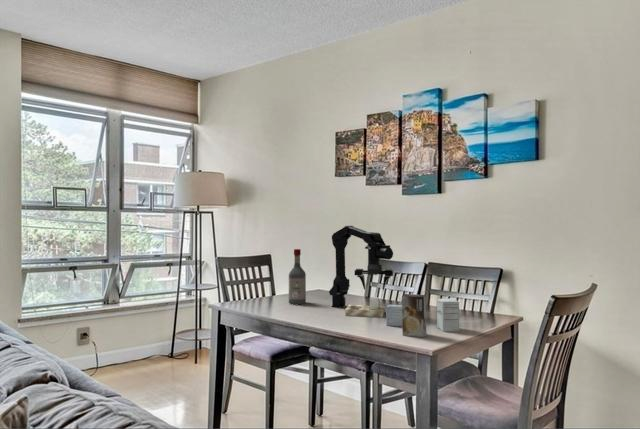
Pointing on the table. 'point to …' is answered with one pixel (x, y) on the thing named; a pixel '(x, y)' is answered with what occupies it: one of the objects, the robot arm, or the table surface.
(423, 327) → the coffee box
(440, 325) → the supplement box
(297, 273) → the liquor
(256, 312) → the table surface
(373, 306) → the white squarish block
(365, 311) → the socket block
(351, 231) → the robot arm
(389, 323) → the medicine box
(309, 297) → the table surface
